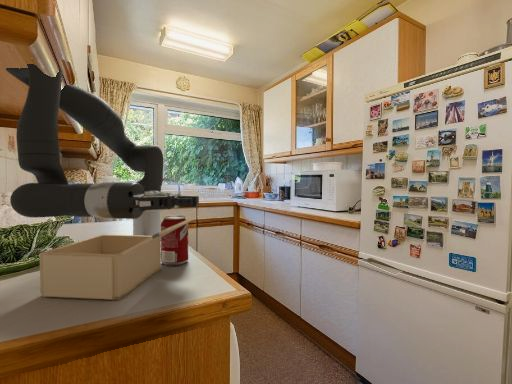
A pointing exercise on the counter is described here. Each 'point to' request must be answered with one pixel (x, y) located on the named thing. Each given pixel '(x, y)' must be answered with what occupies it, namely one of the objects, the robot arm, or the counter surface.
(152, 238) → the flap
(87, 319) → the counter surface
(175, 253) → the soda can
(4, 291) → the counter surface
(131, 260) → the carton
